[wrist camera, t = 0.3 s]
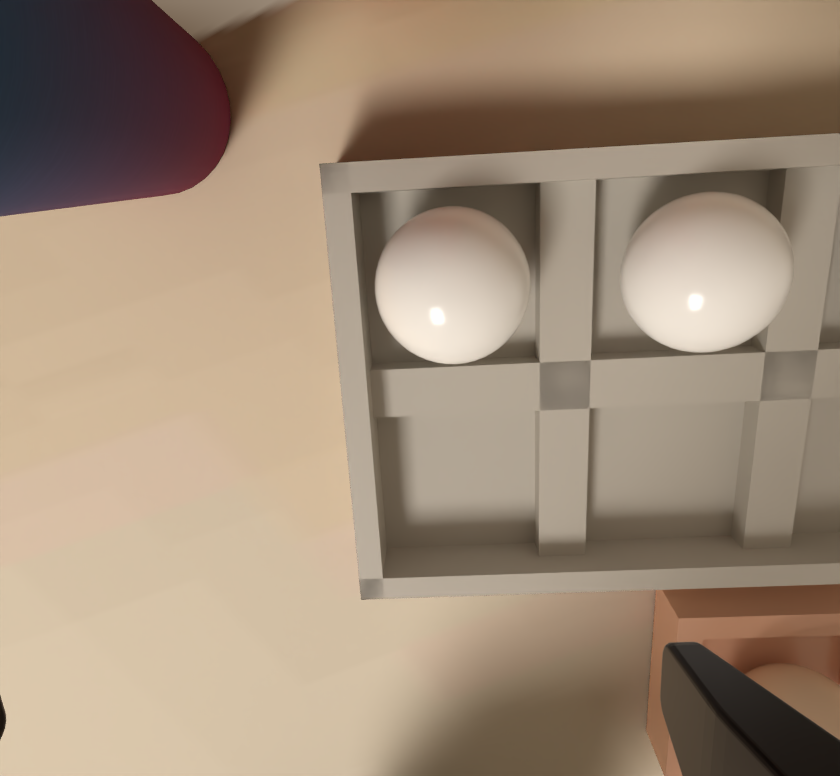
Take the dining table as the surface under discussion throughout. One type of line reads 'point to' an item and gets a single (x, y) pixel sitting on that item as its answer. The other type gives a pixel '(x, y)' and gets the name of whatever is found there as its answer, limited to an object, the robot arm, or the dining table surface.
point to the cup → (103, 104)
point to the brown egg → (803, 692)
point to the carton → (591, 387)
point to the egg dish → (743, 636)
